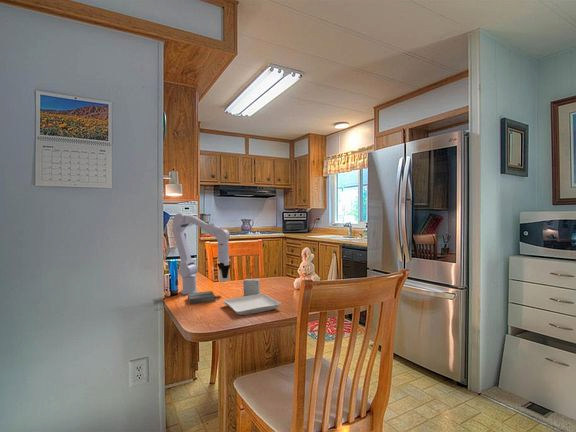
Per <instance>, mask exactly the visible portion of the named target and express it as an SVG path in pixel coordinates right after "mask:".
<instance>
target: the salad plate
mask: <svg viewBox="0 0 576 432" xmlns="http://www.w3.org/2000/svg"><path fill="white" fill-rule="evenodd" d="M222 302H223V303H224V305H226V306H227V307H229V308H230V309H231V310H232V311H234V313H235V314H237V315H238V316H246V315H252V314H256V313H257V314H258V313H262V312H263V313H264V312H268V311H271V310H275V309H277V308H279V307H281V306H282V303H281V302H280V301H278V300H276V299H274V298H272V297H271V296H269V295H267V294H265V293H260V294H257V295H250V296H244V295H243V296H240V297H234V298H228V299H223V300H222Z"/></svg>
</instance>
